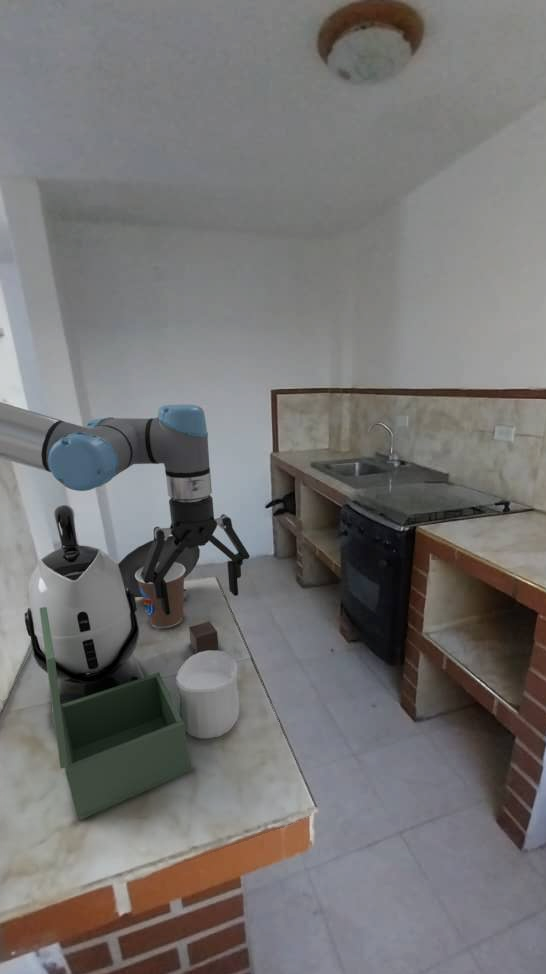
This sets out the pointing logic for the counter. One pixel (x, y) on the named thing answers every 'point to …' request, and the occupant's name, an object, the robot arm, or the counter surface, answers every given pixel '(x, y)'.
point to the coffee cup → (175, 597)
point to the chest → (122, 743)
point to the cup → (208, 694)
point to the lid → (54, 687)
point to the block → (203, 637)
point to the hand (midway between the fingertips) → (201, 601)
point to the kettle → (83, 615)
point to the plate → (140, 555)
